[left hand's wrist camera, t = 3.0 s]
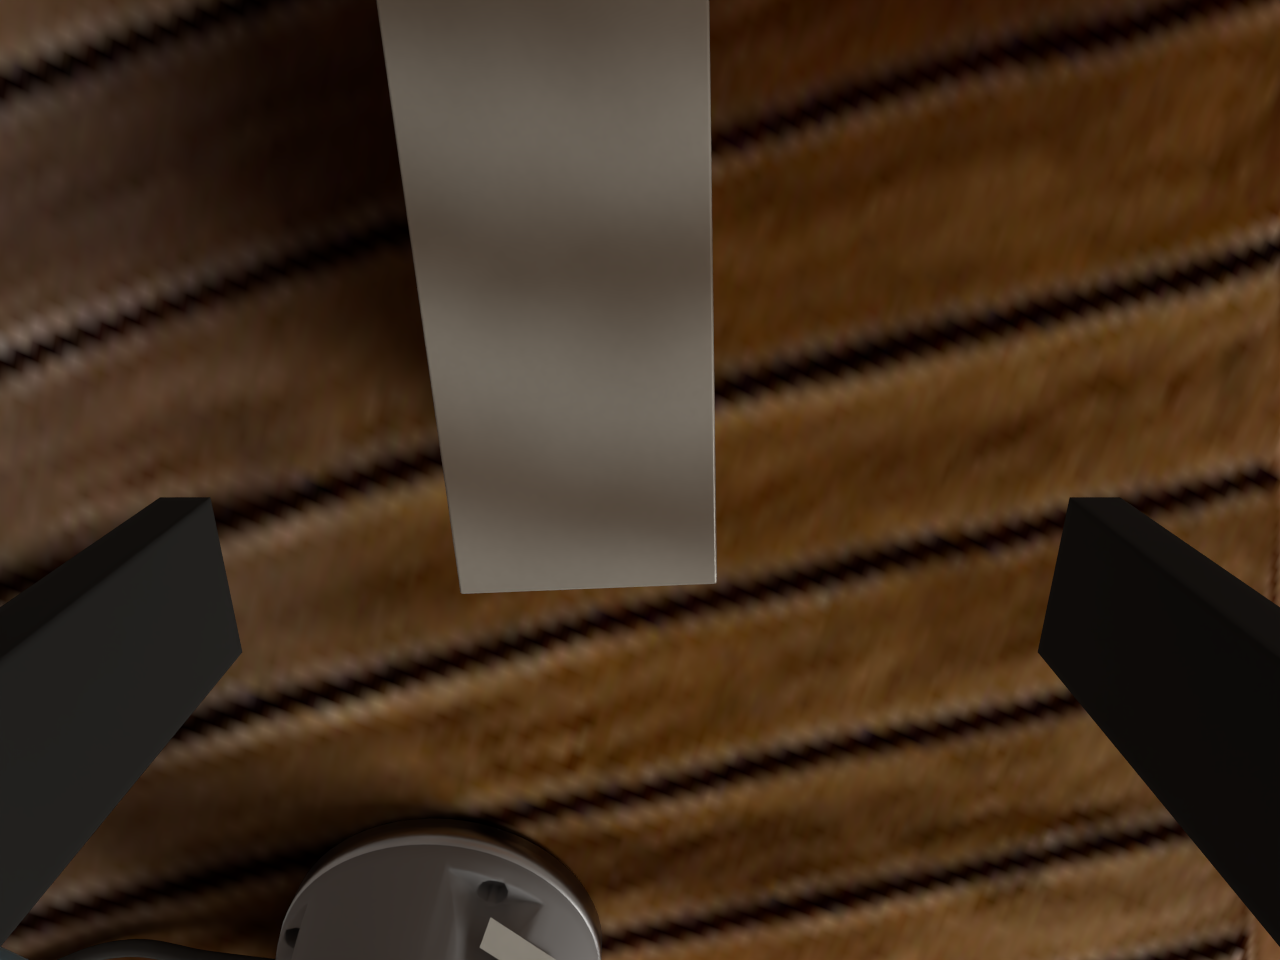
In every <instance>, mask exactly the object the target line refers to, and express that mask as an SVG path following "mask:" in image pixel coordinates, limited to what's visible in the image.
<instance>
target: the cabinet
mask: <svg viewBox="0 0 1280 960" xmlns="http://www.w3.org/2000/svg"><path fill="white" fill-rule="evenodd" d="M376 3H377V10H378V17H379V24H380V31H381V38H382V45H383V52H384V59H385V66H386V73H387V80H388V87H389V94H390V101H391V108H392V115H393V122H394V129H395V136H396V143H397V150H398V157H399V164H400V171H401V178H402V185H403V192H404V199H405V206H406V213H407V220H408V227H409V234H410V241H411V248H412V255H413V262H414V269H415V276H416V283H417V290H418V297H419V304H420V311H421V318H422V325H423V332H424V339H425V346H426V353H427V360H428V367H429V374H430V381H431V388H432V395H433V402H434V409H435V417H436V424H437V431H438V438H439V445H440V452H441V459H442V466H443V473H444V480H445V487H446V494H447V501H448V508H449V515H450V522H451V529H452V536H453V543H454V550H455V557H456V564H457V571H458V578H459V585H460V592H461V593H462V594H465V593H490V592H515V591H540V590H565V589H590V588H615V587H640V586H665V585H690V584H714V583H716V582H717V560H716V485H715V409H714V333H713V257H712V182H711V106H710V30H709V0H376Z"/></svg>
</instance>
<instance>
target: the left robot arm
mask: <svg viewBox="0 0 1280 960" xmlns="http://www.w3.org/2000/svg"><path fill="white" fill-rule="evenodd" d="M241 653H242V649H241V644H240V639H239V634H238V629H237V624H236V620H235V615H234V610H233V605H232V600H231V595H230V591H229V586H228V581H227V576H226V571H225V566H224V562H223V557H222V552H221V547H220V542H219V537H218V533H217V528H216V523H215V518H214V513H213V508H212V504H211V499H210V498H159V499H157V500H156V501H154V502H153V503H151V504H150V505H148V506H147V507H146V508H144V509H143V510H141V511H140V512H138V513H137V514H135V515H134V516H132V517H131V518H130V519H128V520H127V521H125V522H124V523H122V524H121V525H119V526H118V527H116V528H115V529H114V530H112V531H111V532H109V533H108V534H106V535H105V536H103V537H102V538H100V539H99V540H98V541H96V542H95V543H93V544H92V545H90V546H89V547H87V548H86V549H84V550H83V551H82V552H80V553H79V554H77V555H76V556H74V557H73V558H71V559H70V560H68V561H67V562H66V563H64V564H63V565H61V566H60V567H58V568H57V569H55V570H54V571H52V572H51V573H49V574H48V575H47V576H45V577H44V578H42V579H41V580H39V581H38V582H36V583H35V584H33V585H32V586H31V587H29V588H28V589H26V590H25V591H23V592H22V593H20V594H19V595H17V596H16V597H15V598H13V599H12V600H10V601H9V602H7V603H6V604H4V605H3V606H1V607H0V946H1V945H2V944H3V943H4V942H5V940H6V939H7V938H8V937H9V935H10V934H11V933H12V932H13V931H14V929H15V928H16V927H17V926H18V925H19V923H20V922H21V921H22V920H23V918H24V917H25V916H26V915H27V914H28V912H29V911H30V910H31V909H32V907H33V906H34V905H35V904H36V903H37V901H38V900H39V899H40V898H41V897H42V895H43V894H44V893H45V892H46V890H47V889H48V888H49V887H50V886H51V884H52V883H53V882H54V881H55V879H56V878H57V877H58V876H59V875H60V873H61V872H62V871H63V870H64V869H65V867H66V866H67V865H68V864H69V862H70V861H71V860H72V859H73V858H74V856H75V855H76V854H77V853H78V851H79V850H80V849H81V848H82V847H83V845H84V844H85V843H86V842H87V841H88V839H89V838H90V837H91V836H92V834H93V833H94V832H95V831H96V830H97V828H98V827H99V826H100V825H101V823H102V822H103V821H104V820H105V819H106V817H107V816H108V815H109V814H110V813H111V811H112V810H113V809H114V808H115V806H116V805H117V804H118V803H119V802H120V800H121V799H122V798H123V797H124V795H125V794H126V793H127V792H128V791H129V789H130V788H131V787H132V786H133V784H134V783H135V782H136V781H137V780H138V778H139V777H140V776H141V775H142V774H143V772H144V771H145V770H146V769H147V767H148V766H149V765H150V764H151V763H152V761H153V760H154V759H155V758H156V756H157V755H158V754H159V753H160V752H161V750H162V749H163V748H164V747H165V746H166V744H167V743H168V742H169V741H170V739H171V738H172V737H173V736H174V735H175V733H176V732H177V731H178V730H179V728H180V727H181V726H182V725H183V724H184V722H185V721H186V720H187V719H188V718H189V716H190V715H191V714H192V713H193V711H194V710H195V709H196V708H197V707H198V705H199V704H200V703H201V702H202V700H203V699H204V698H205V697H206V696H207V694H208V693H209V692H210V691H211V690H212V688H213V687H214V686H215V685H216V683H217V682H218V681H219V680H220V679H221V677H222V676H223V675H224V674H225V672H226V671H227V670H228V669H229V668H230V666H231V665H232V664H233V663H234V662H235V660H236V659H237V658H238V657H239V655H240V654H241ZM1038 653H1039V654H1040V655H1041V657H1042V658H1043V659H1044V660H1045V662H1046V663H1047V664H1048V665H1049V666H1050V668H1051V669H1052V670H1053V671H1054V672H1055V674H1056V675H1057V676H1058V677H1059V679H1060V680H1061V681H1062V682H1063V683H1064V685H1065V686H1066V687H1067V688H1068V690H1069V691H1070V692H1071V693H1072V694H1073V696H1074V697H1075V698H1076V699H1077V700H1078V702H1079V703H1080V704H1081V705H1082V707H1083V708H1084V709H1085V710H1086V711H1087V713H1088V714H1089V715H1090V716H1091V718H1092V719H1093V720H1094V721H1095V722H1096V724H1097V725H1098V726H1099V727H1100V728H1101V730H1102V731H1103V732H1104V733H1105V735H1106V736H1107V737H1108V738H1109V739H1110V741H1111V742H1112V743H1113V744H1114V746H1115V747H1116V748H1117V749H1118V750H1119V752H1120V753H1121V754H1122V755H1123V756H1124V758H1125V759H1126V760H1127V761H1128V763H1129V764H1130V765H1131V766H1132V767H1133V769H1134V770H1135V771H1136V772H1137V774H1138V775H1139V776H1140V777H1141V778H1142V780H1143V781H1144V782H1145V783H1146V784H1147V786H1148V787H1149V788H1150V789H1151V791H1152V792H1153V793H1154V794H1155V795H1156V797H1157V798H1158V799H1159V800H1160V802H1161V803H1162V804H1163V805H1164V806H1165V808H1166V809H1167V810H1168V811H1169V813H1170V814H1171V815H1172V816H1173V817H1174V819H1175V820H1176V821H1177V822H1178V823H1179V825H1180V826H1181V827H1182V828H1183V830H1184V831H1185V832H1186V833H1187V834H1188V836H1189V837H1190V838H1191V839H1192V841H1193V842H1194V843H1195V844H1196V845H1197V847H1198V848H1199V849H1200V850H1201V851H1202V853H1203V854H1204V855H1205V856H1206V858H1207V859H1208V860H1209V861H1210V862H1211V864H1212V865H1213V866H1214V867H1215V869H1216V870H1217V871H1218V872H1219V873H1220V875H1221V876H1222V877H1223V878H1224V879H1225V881H1226V882H1227V883H1228V884H1229V886H1230V887H1231V888H1232V889H1233V890H1234V892H1235V893H1236V894H1237V895H1238V897H1239V898H1240V899H1241V900H1242V901H1243V903H1244V904H1245V905H1246V906H1247V907H1248V909H1249V910H1250V911H1251V912H1252V914H1253V915H1254V916H1255V917H1256V918H1257V920H1258V921H1259V922H1260V923H1261V925H1262V926H1263V927H1264V928H1265V929H1266V931H1267V932H1268V933H1269V934H1270V935H1271V937H1272V938H1273V939H1274V940H1275V942H1276V943H1277V944H1278V945H1279V946H1280V607H1279V606H1277V605H1276V604H1274V603H1273V602H1271V601H1270V600H1268V599H1267V598H1265V597H1264V596H1263V595H1261V594H1260V593H1258V592H1257V591H1255V590H1254V589H1252V588H1251V587H1249V586H1248V585H1247V584H1245V583H1244V582H1242V581H1241V580H1239V579H1238V578H1236V577H1235V576H1233V575H1232V574H1231V573H1229V572H1228V571H1226V570H1225V569H1223V568H1222V567H1220V566H1219V565H1217V564H1216V563H1214V562H1213V561H1212V560H1210V559H1209V558H1207V557H1206V556H1204V555H1203V554H1201V553H1200V552H1198V551H1197V550H1196V549H1194V548H1193V547H1191V546H1190V545H1188V544H1187V543H1185V542H1184V541H1182V540H1181V539H1180V538H1178V537H1177V536H1175V535H1174V534H1172V533H1171V532H1169V531H1168V530H1166V529H1165V528H1164V527H1162V526H1161V525H1159V524H1158V523H1156V522H1155V521H1153V520H1152V519H1150V518H1149V517H1148V516H1146V515H1145V514H1143V513H1142V512H1140V511H1139V510H1137V509H1136V508H1134V507H1133V506H1132V505H1130V504H1129V503H1127V502H1126V501H1124V500H1123V499H1121V498H1070V499H1069V504H1068V508H1067V513H1066V518H1065V523H1064V528H1063V533H1062V537H1061V542H1060V547H1059V552H1058V557H1057V562H1056V566H1055V571H1054V576H1053V581H1052V586H1051V591H1050V595H1049V600H1048V605H1047V610H1046V615H1045V620H1044V624H1043V629H1042V634H1041V639H1040V644H1039V649H1038ZM601 953H602V933H601V925H600V921H599V917H598V914H597V911H596V909H595V906H594V904H593V902H592V900H591V898H590V896H589V894H588V893H587V891H586V890H585V888H584V887H583V886H582V884H581V883H580V882H579V880H578V879H577V878H576V877H575V876H574V875H573V873H572V872H571V871H570V870H569V869H568V868H566V867H565V866H564V865H563V864H562V863H561V862H560V861H558V860H557V859H556V858H555V857H553V856H552V855H551V854H549V853H548V852H546V851H545V850H543V849H542V848H540V847H539V846H537V845H535V844H533V843H531V842H529V841H527V840H526V839H524V838H521V837H519V836H517V835H514V834H512V833H510V832H507V831H504V830H501V829H498V828H495V827H491V826H487V825H483V824H480V823H474V822H468V821H462V820H453V819H432V818H430V819H413V820H405V821H398V822H393V823H389V824H384V825H381V826H377V827H374V828H371V829H368V830H365V831H363V832H361V833H358V834H356V835H354V836H352V837H350V838H348V839H346V840H344V841H342V842H341V843H339V844H338V845H336V846H335V847H333V848H332V849H330V850H329V851H328V852H327V853H326V854H324V855H323V856H322V857H321V858H320V859H319V860H318V861H317V862H316V863H315V864H314V865H313V866H312V868H311V869H310V870H309V872H308V873H307V874H306V876H305V877H304V879H303V881H302V883H301V884H300V886H299V888H298V890H297V893H296V895H295V897H294V899H293V901H292V903H291V905H290V907H289V909H288V912H287V914H286V916H285V919H284V921H283V925H282V929H281V933H280V937H279V941H278V945H277V952H276V959H270V958H262V957H253V956H245V955H237V954H229V953H221V952H213V951H206V950H200V949H195V948H190V947H186V946H181V945H177V944H173V943H168V942H163V941H157V940H148V939H128V940H119V941H112V942H108V943H103V944H99V945H95V946H92V947H88V948H85V949H82V950H80V951H77V952H74V953H72V954H69V955H67V956H65V957H62V958H60V959H58V960H105V959H110V958H118V957H145V958H152V959H157V960H601ZM0 960H28V959H26V958H24V957H22V956H20V955H17V954H15V953H13V952H11V951H9V950H7V949H4V948H2V947H0Z"/></svg>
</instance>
